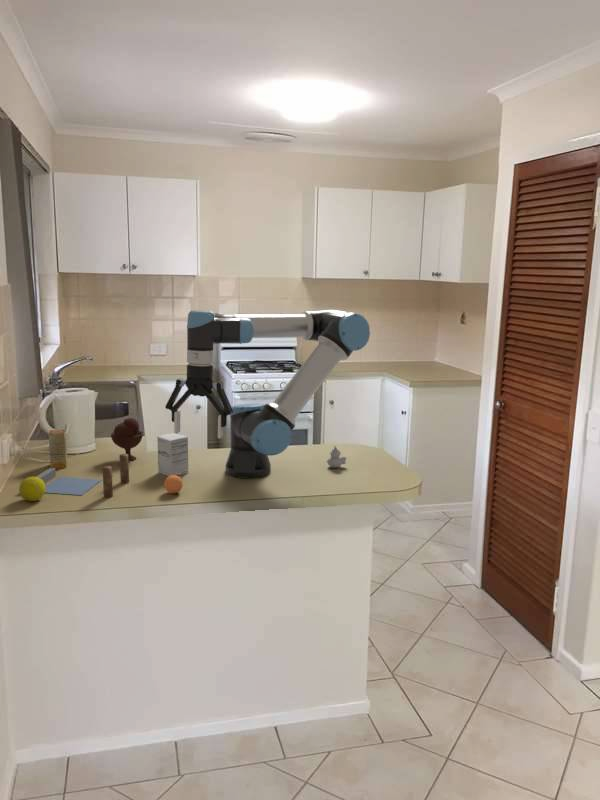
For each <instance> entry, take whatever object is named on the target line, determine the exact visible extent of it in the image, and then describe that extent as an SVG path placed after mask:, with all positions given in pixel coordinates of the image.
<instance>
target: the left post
mask: <svg viewBox="0 0 600 800" xmlns="http://www.w3.org/2000/svg"><path fill="white" fill-rule="evenodd" d="M112 469H113V468H112V466H111V465H105V466H102V485H103V498H104V499H110V498H112V497H113V496H114V492H113V491H114V487H113V471H112Z"/></svg>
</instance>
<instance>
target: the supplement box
mask: <svg viewBox="0 0 600 800" xmlns="http://www.w3.org/2000/svg"><path fill="white" fill-rule="evenodd" d="M156 439H157V440H156V441H157V471H158V472H157V473H158V474H162V475H165V476H167V477H169V476H171V475H176V476H177V475H179V476H182V475H181V474H183V475H185V474H184V473H186V474H189V437H188V436H186V435H182V434H179V433H177V434H174V432H171V433H166V434H163V435H158V436H157V437H156Z"/></svg>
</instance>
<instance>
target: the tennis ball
mask: <svg viewBox="0 0 600 800" xmlns="http://www.w3.org/2000/svg"><path fill="white" fill-rule="evenodd" d="M19 484H20V485H19V489H18V491H19V495H20V496H21V498H22V499H23V500H25V501H27V502H35V501H39V500H40V499H41V498H43V497H44V495H45V494H46V493H45V489H46V488H45V487H46V483H44V482H43V480H42V479H40V478H38V477H36V476H29V477H27V478H26V477H25V479H23V480H22V481H21V482H20V483H19Z"/></svg>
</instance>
